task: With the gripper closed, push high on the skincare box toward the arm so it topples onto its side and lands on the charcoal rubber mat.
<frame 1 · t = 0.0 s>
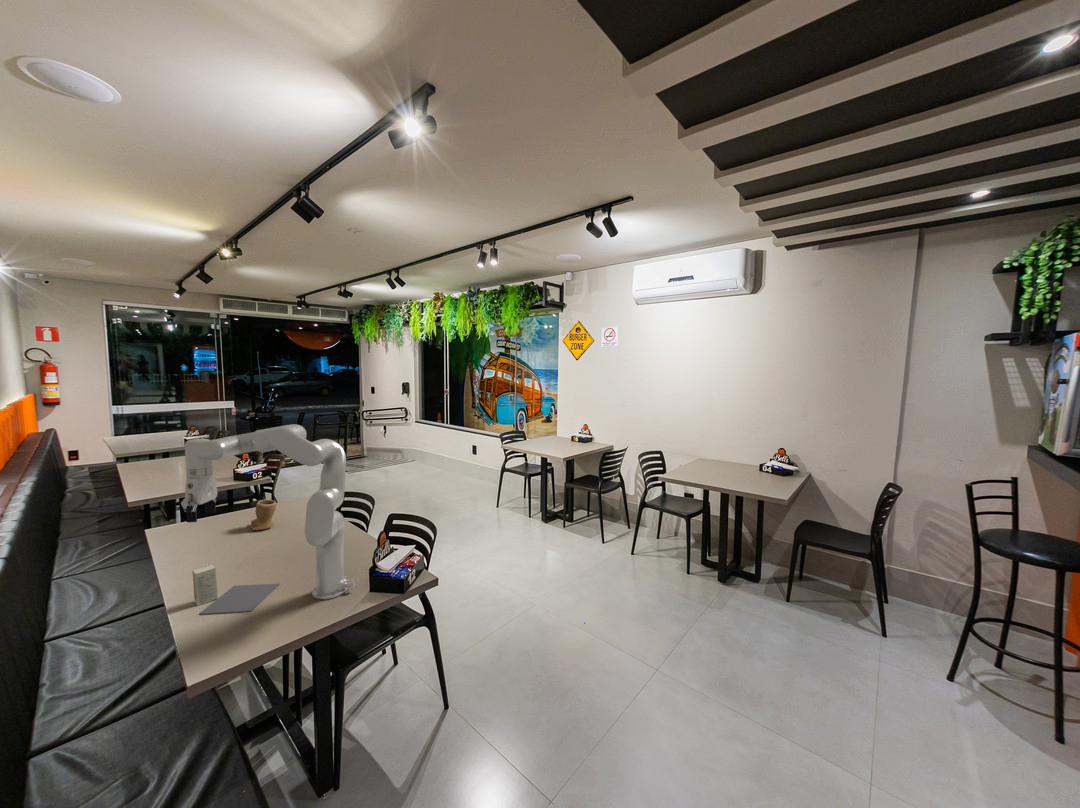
hand: (201, 517, 148), 31 cm above the table, fingers open, 9 cm apart
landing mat: (242, 598, 149), on the table
skincare box: (205, 601, 148), on the table
brown boot: (264, 527, 222), on the table
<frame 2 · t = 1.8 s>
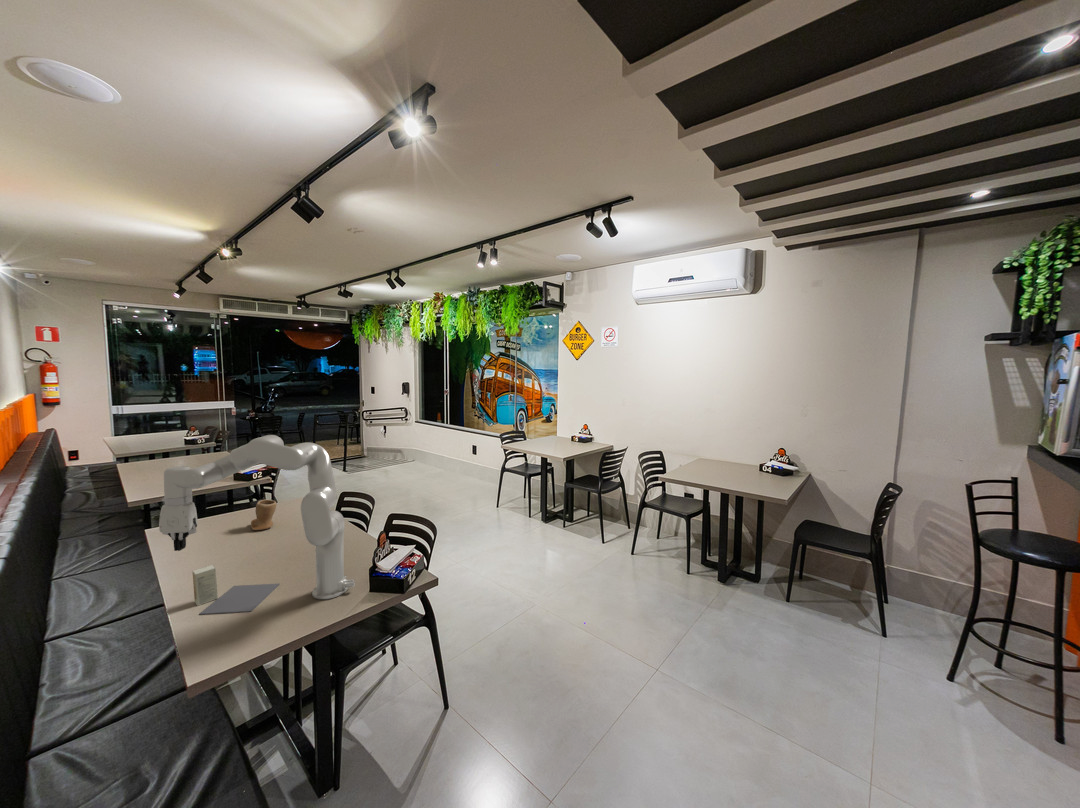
hand: (180, 549, 146), 20 cm above the table, fingers closed
nothing on the table moved.
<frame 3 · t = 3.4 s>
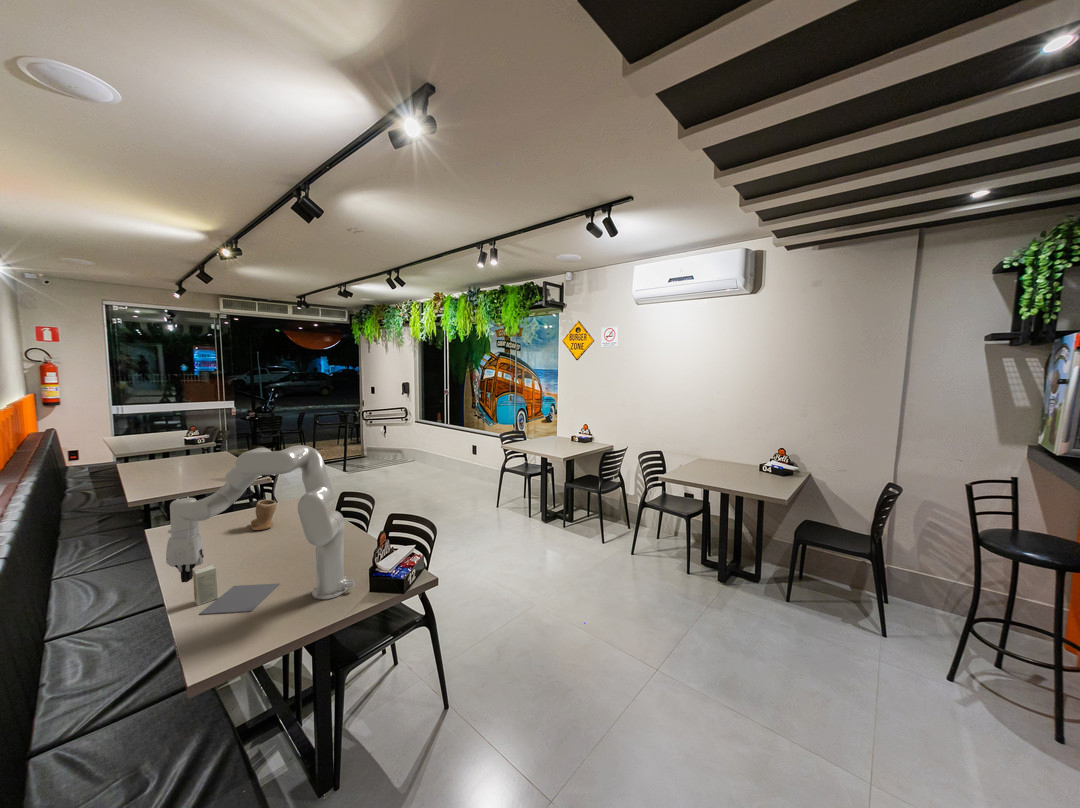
hand: (187, 580, 147), 8 cm above the table, fingers closed
skincare box: (205, 601, 148), on the table, touching gripper
everything else where it was.
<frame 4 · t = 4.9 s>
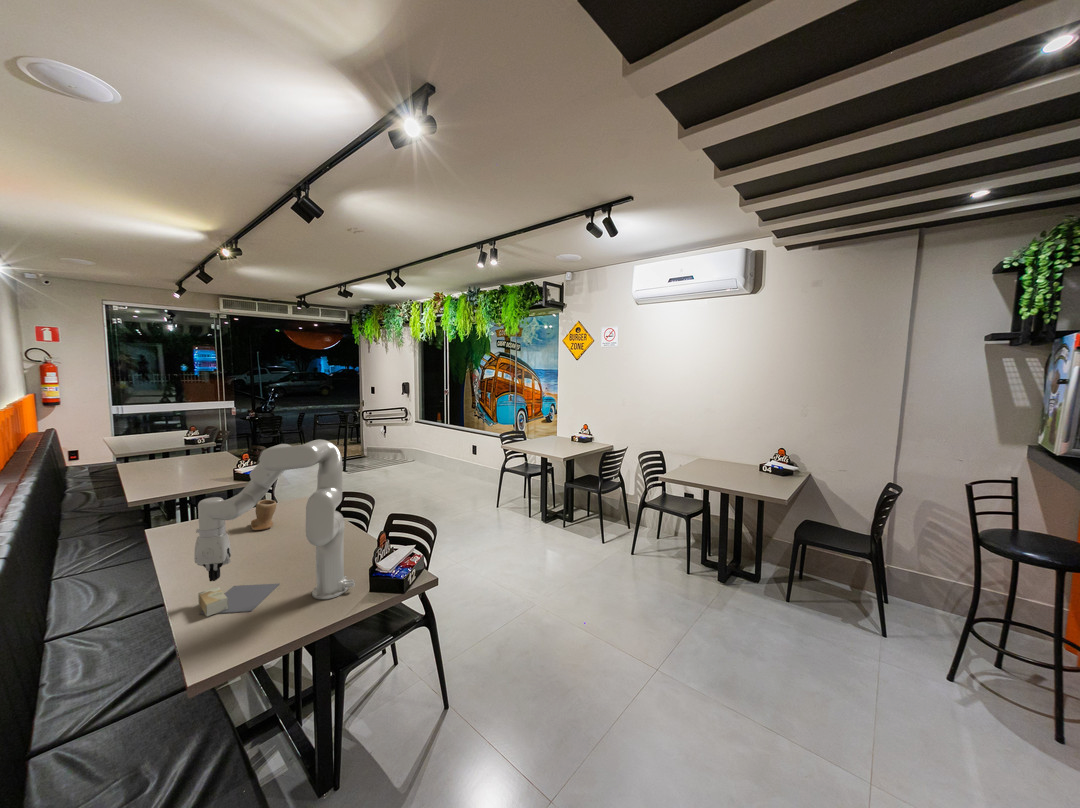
hand: (214, 579, 148), 8 cm above the table, fingers closed
skincare box: (208, 595, 147), point 3 cm above the table, touching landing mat
everything else where it was.
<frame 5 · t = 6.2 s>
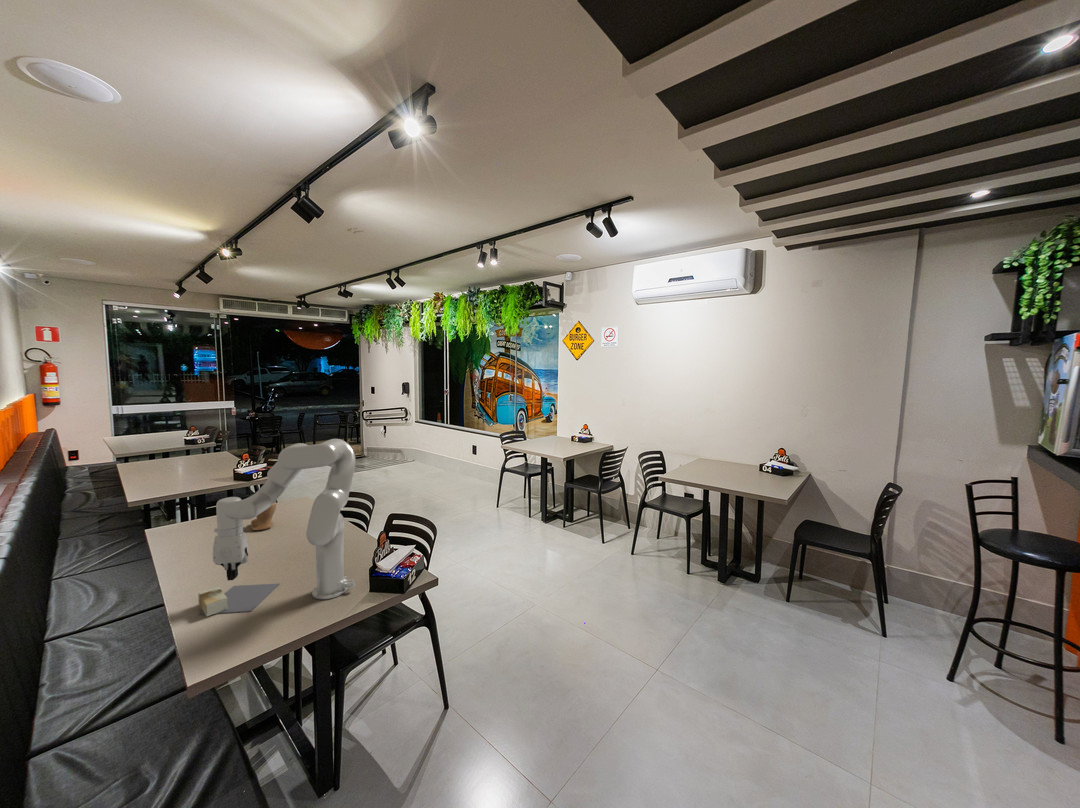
hand: (232, 578, 149), 8 cm above the table, fingers closed
nothing on the table moved.
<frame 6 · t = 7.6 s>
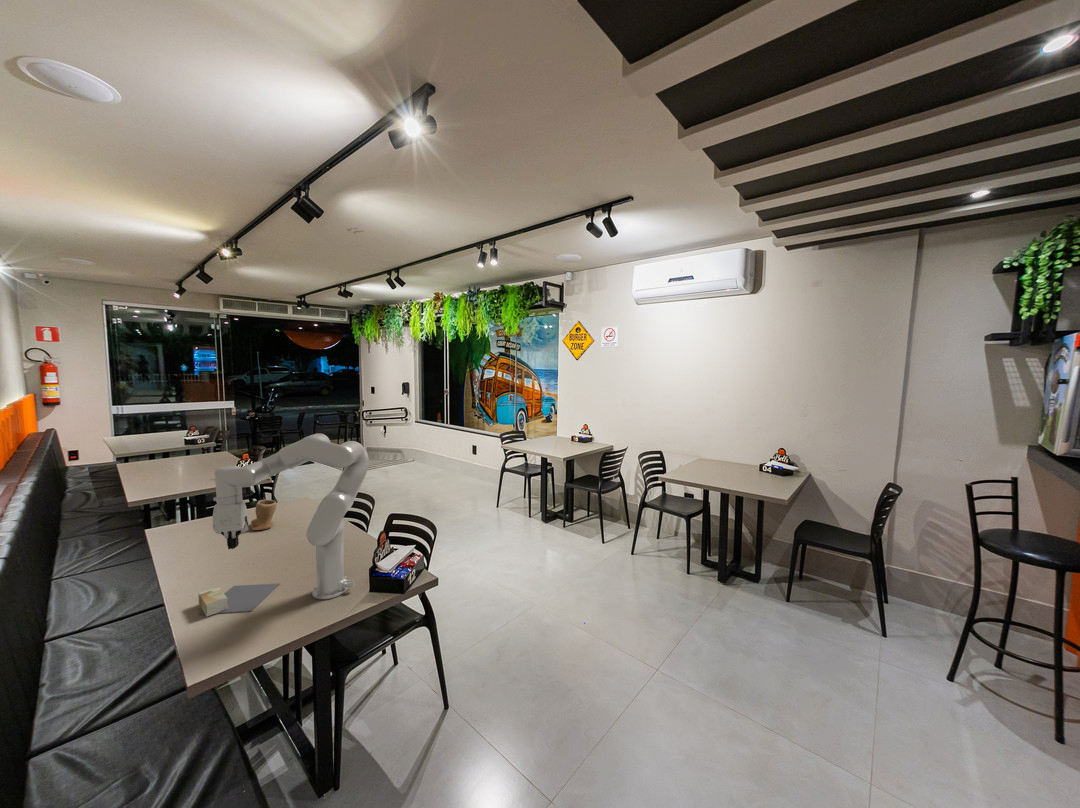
hand: (233, 547, 148), 20 cm above the table, fingers closed
nothing on the table moved.
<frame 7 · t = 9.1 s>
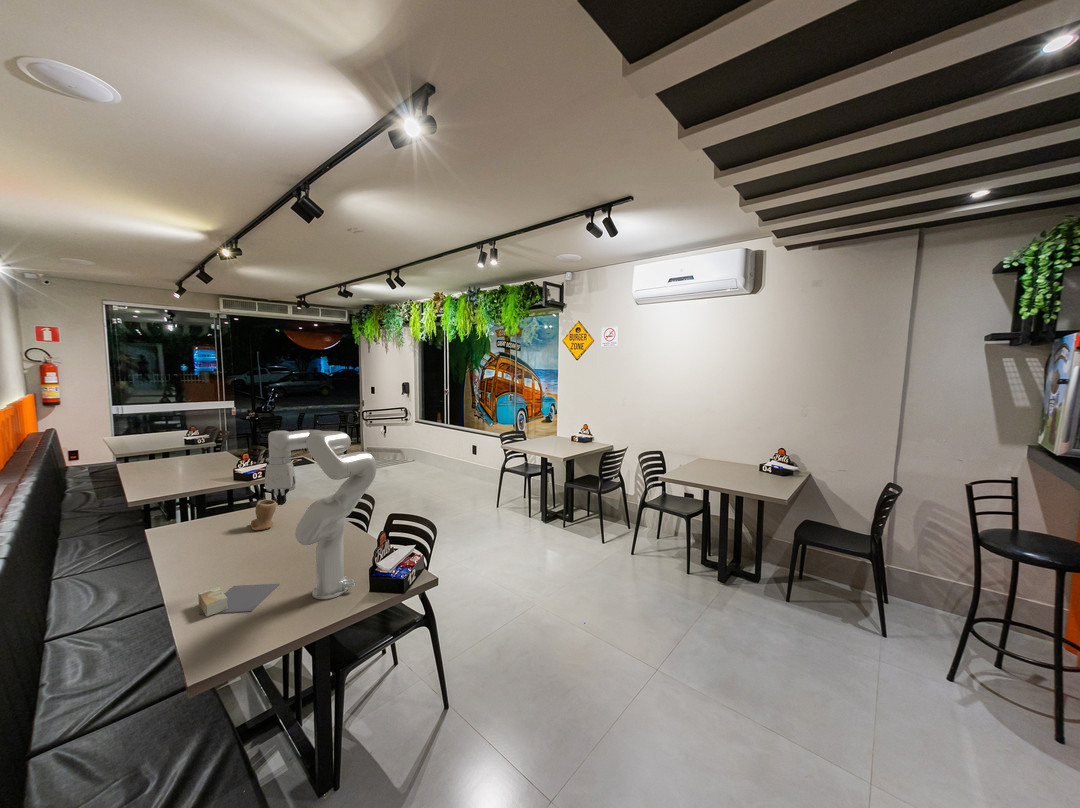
hand: (281, 504, 164), 31 cm above the table, fingers closed
nothing on the table moved.
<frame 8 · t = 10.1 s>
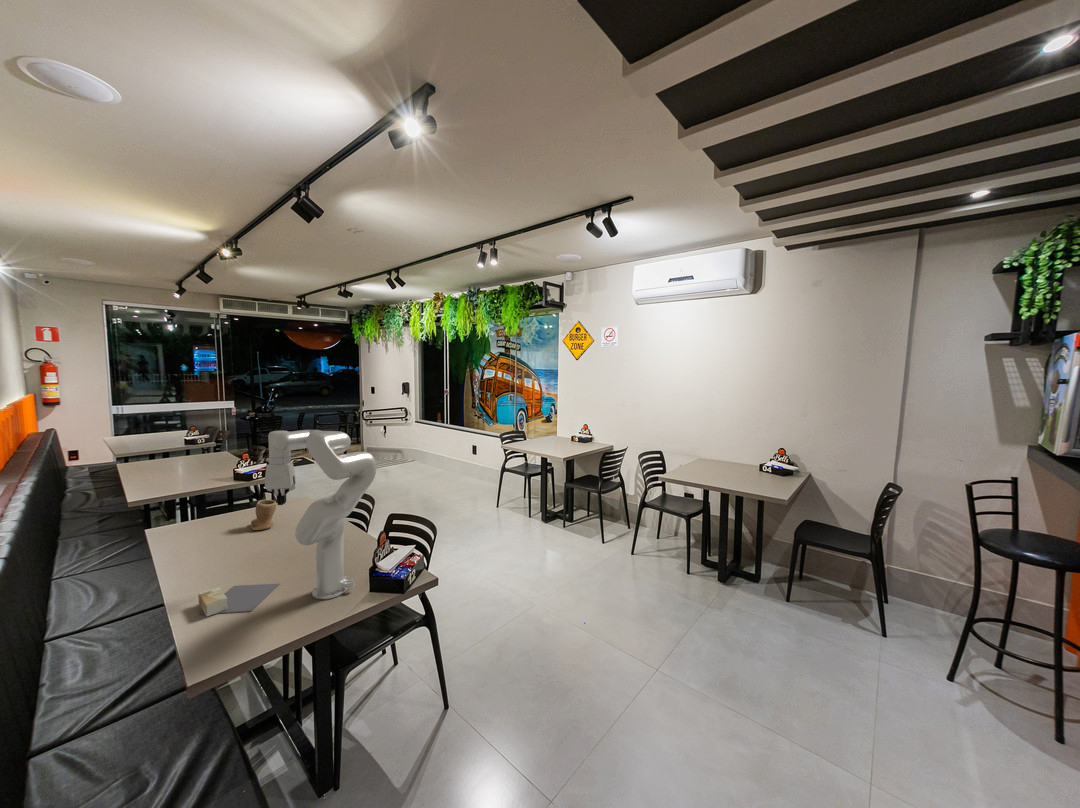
hand: (281, 504, 164), 31 cm above the table, fingers closed
nothing on the table moved.
at the end: skincare box tilted 90°; skincare box touching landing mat; skincare box inside the target area (6.1 cm from its centre), point 2.5 cm above the table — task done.
